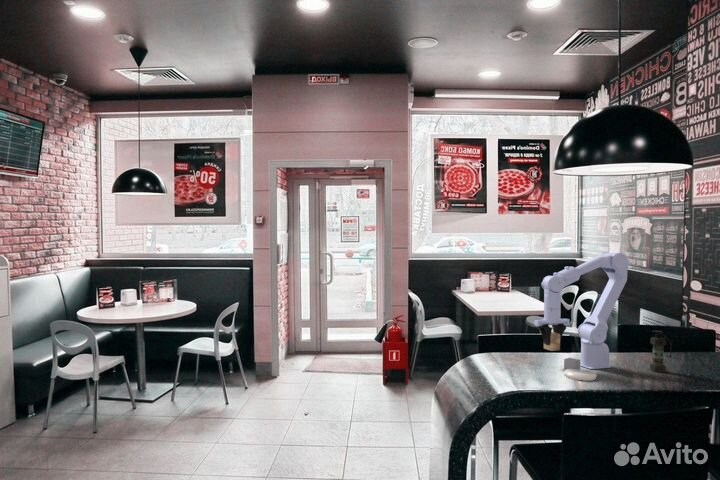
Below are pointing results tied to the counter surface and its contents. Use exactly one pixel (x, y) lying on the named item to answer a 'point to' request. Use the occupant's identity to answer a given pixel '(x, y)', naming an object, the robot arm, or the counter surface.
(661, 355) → the grenade
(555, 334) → the oak block
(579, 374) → the coaster
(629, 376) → the counter surface
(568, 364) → the grey block
